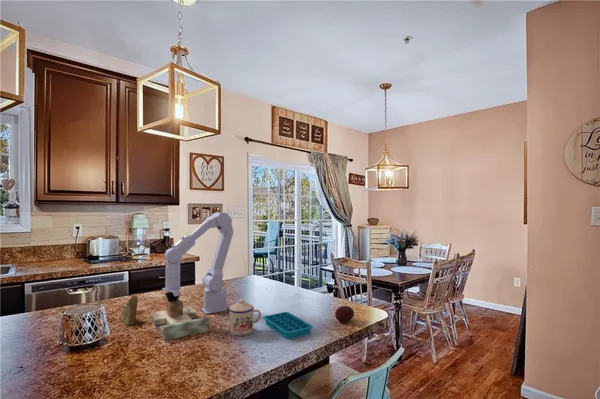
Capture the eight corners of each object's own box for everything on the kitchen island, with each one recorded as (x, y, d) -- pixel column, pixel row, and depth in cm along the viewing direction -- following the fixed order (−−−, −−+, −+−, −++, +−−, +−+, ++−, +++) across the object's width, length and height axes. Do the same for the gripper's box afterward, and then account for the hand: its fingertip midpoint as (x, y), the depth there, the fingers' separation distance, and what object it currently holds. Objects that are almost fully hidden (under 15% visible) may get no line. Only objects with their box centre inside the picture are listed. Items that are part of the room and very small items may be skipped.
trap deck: (189, 311, 142) (189, 301, 142) (209, 330, 121) (209, 318, 121) (150, 319, 133) (150, 308, 133) (164, 340, 112) (164, 327, 112)
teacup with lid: (231, 337, 114) (231, 304, 114) (227, 328, 122) (227, 298, 123) (264, 332, 119) (264, 300, 119) (257, 324, 127) (257, 294, 127)
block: (179, 311, 135) (179, 299, 135) (182, 315, 130) (183, 302, 131) (167, 313, 132) (167, 301, 132) (169, 317, 128) (170, 304, 128)
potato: (357, 320, 131) (357, 305, 131) (345, 326, 124) (345, 311, 124) (342, 316, 136) (342, 302, 136) (329, 322, 129) (329, 307, 129)
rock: (140, 319, 126) (149, 308, 136) (125, 303, 124) (135, 293, 134) (118, 336, 125) (128, 324, 135) (102, 320, 124) (114, 309, 134)
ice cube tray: (286, 342, 111) (286, 333, 111) (261, 324, 128) (261, 316, 128) (314, 334, 117) (314, 326, 117) (287, 318, 134) (287, 311, 134)
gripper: (159, 275, 139) (158, 306, 138) (166, 281, 127) (166, 316, 126) (176, 273, 143) (175, 303, 142) (185, 279, 131) (184, 312, 130)
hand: (172, 309), depth 135 cm, fingers closed
